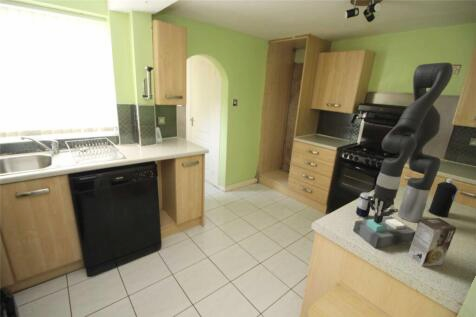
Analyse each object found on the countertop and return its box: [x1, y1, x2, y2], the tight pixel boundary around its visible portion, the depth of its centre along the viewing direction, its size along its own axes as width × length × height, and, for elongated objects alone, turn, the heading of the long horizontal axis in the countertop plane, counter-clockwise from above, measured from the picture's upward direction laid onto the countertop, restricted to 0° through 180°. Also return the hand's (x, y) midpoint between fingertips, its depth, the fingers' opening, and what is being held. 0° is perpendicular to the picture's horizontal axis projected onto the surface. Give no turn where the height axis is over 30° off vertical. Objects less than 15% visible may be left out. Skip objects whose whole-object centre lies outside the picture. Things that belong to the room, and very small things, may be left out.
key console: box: [352, 216, 416, 249], centre depth 98 cm, size 21×12×5 cm, turn 106°
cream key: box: [385, 218, 406, 229], centre depth 99 cm, size 5×5×4 cm
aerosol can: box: [427, 178, 459, 218], centre depth 118 cm, size 8×8×20 cm
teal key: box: [366, 218, 387, 232], centre depth 96 cm, size 5×5×4 cm
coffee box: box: [407, 217, 457, 267], centre depth 83 cm, size 9×6×16 cm
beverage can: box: [355, 191, 374, 219], centre depth 113 cm, size 6×6×12 cm
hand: (376, 222), depth 95 cm, fingers closed
